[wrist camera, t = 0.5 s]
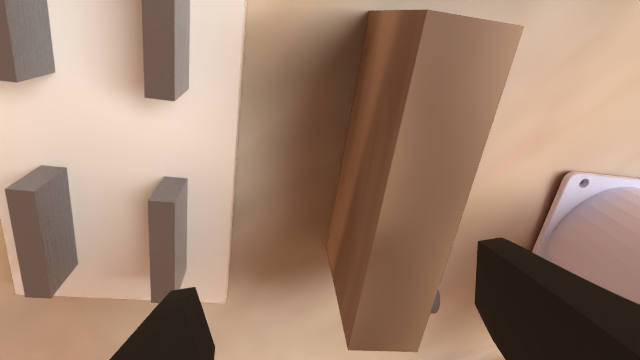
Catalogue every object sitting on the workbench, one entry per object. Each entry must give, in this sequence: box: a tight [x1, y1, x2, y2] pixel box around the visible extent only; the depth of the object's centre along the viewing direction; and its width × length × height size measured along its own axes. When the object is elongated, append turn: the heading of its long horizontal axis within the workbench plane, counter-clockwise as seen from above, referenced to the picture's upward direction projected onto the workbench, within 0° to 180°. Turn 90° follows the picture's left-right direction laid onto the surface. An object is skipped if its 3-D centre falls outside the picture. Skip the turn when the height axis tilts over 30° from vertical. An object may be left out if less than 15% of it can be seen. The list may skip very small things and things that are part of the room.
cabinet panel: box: [0, 0, 247, 303], centre depth 16 cm, size 10×18×1 cm, turn 172°
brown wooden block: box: [326, 10, 524, 352], centre depth 16 cm, size 4×12×7 cm, turn 172°
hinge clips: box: [0, 0, 190, 303], centre depth 15 cm, size 6×14×2 cm, turn 172°
